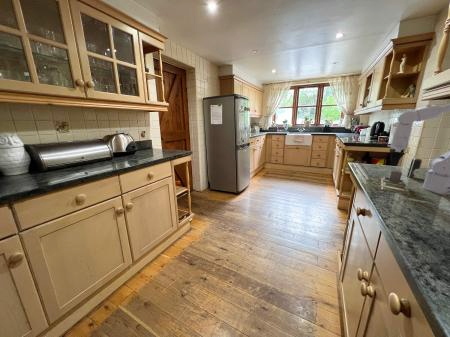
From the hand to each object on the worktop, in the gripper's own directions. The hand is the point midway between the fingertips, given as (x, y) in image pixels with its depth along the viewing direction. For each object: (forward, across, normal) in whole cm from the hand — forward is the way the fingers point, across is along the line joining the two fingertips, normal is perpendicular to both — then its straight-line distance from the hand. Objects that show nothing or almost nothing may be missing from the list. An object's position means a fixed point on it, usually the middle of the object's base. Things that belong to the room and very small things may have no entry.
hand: (392, 164), depth 95 cm
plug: (+9, 0, +2) cm, 9 cm away
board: (+10, +6, +2) cm, 12 cm away
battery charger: (+10, -22, +11) cm, 26 cm away
